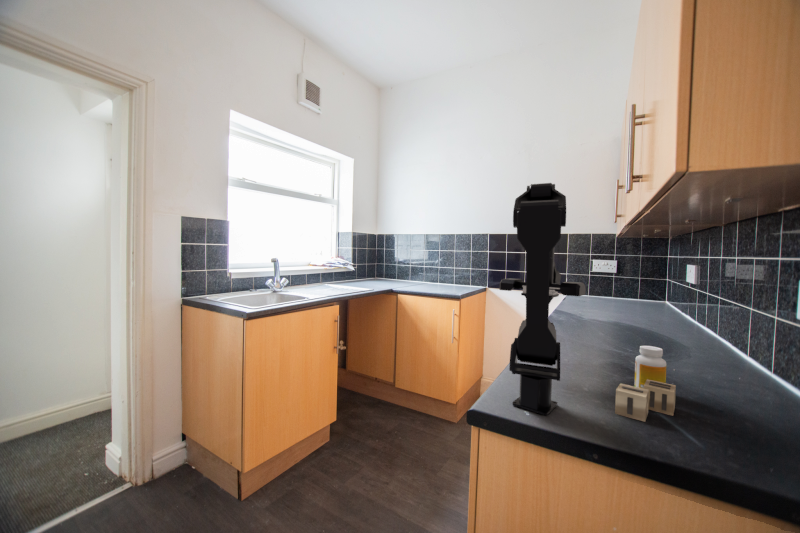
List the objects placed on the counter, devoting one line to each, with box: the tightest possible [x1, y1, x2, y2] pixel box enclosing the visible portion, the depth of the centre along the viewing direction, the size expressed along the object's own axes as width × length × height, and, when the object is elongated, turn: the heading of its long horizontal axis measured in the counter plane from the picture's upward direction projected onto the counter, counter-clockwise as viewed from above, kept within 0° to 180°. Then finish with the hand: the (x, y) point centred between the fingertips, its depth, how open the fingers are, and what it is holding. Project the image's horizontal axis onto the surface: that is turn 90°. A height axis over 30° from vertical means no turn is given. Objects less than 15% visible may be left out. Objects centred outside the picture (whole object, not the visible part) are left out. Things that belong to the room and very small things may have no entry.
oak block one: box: [614, 382, 649, 423], centre depth 62 cm, size 5×4×5 cm
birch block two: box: [644, 379, 677, 416], centre depth 64 cm, size 5×4×5 cm
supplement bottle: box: [633, 345, 667, 389], centre depth 72 cm, size 5×5×10 cm
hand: (539, 321), depth 81 cm, fingers closed
